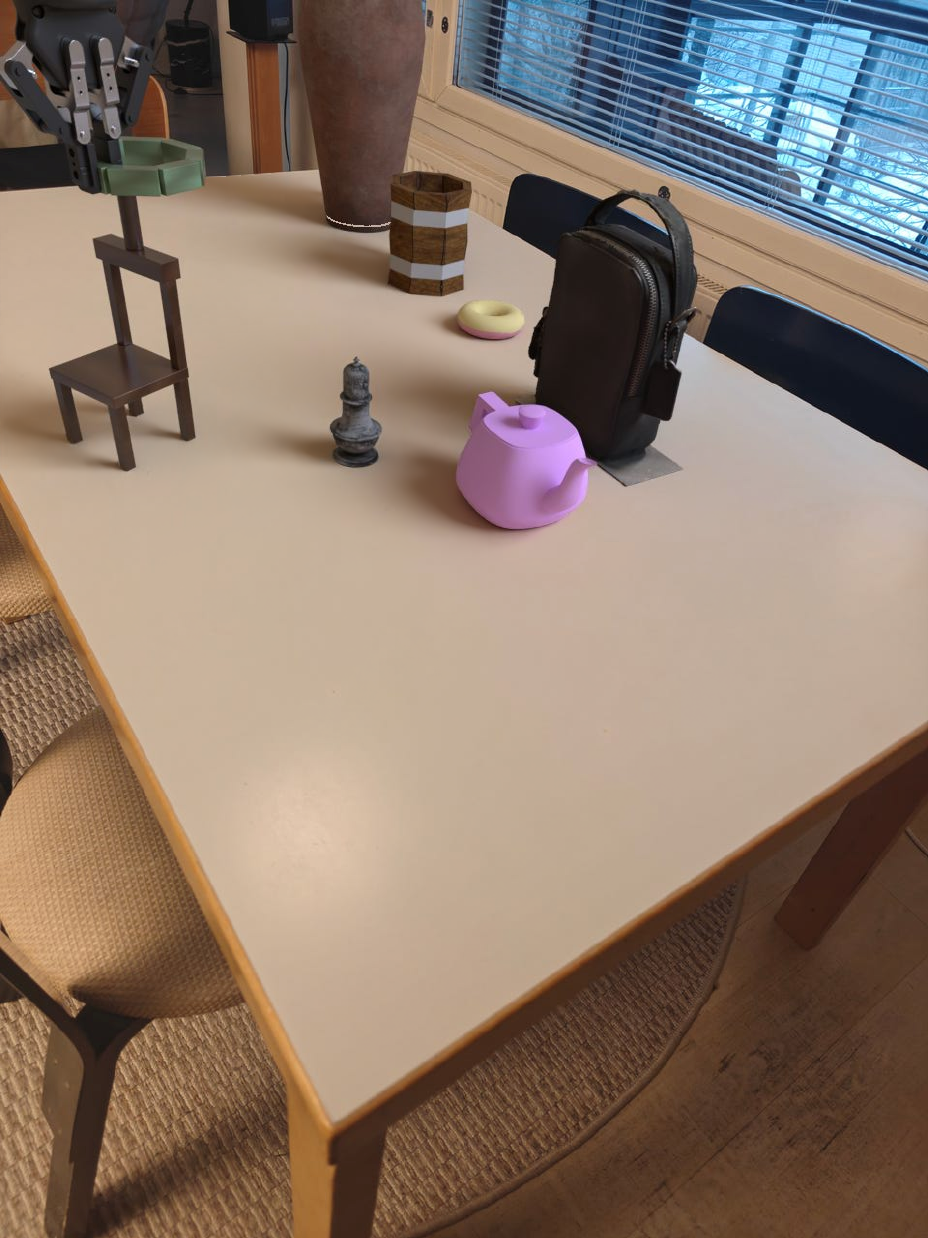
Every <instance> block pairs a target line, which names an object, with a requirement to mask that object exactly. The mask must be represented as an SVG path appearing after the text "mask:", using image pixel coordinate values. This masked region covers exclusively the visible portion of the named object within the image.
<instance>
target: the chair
mask: <svg viewBox="0 0 928 1238" xmlns="http://www.w3.org/2000/svg"><path fill="white" fill-rule="evenodd" d="M116 200H117V207H118V212H119V217H120V224H121V229H122V235H123V236H122V237H121V236H118V235H115V234H114V233H109V234H104V235H101V236H96V237H93V238H92V245H93V249H94V254H95V255H94V256H95V258H96V259H97V260H101V263H102V267H103V273H104V279H105V283H106V289H107V296H108V301H109V306H110V312H111V317H112V322H113V328H114V332H115V339H116V343H113V344H111V345H108V346H105V347H103V348H100V349H97V350H95V351H91V352H89V353H86V354H83V355H82V356H78V357H76V358H73V359H71V360H67V361H65V362H62V363H60V364H57V365H54V366H51V367H49V368H48V372H49V375H50V379H51V380H52V383H53V386H54V390H55V394H56V399H57V403H58V408H59V411H60V415H61V419H62V423H63V428H64V432H65V435H66V436H65V437H66V440H67V441H68V442H70V443H72V444H74V445H75V444H77V443H80V442H81V441H83V440H84V438H83V433H82V429H81V425H80V421H79V417H78V412H77V407H76V402H75V398H74V393H73V391H76V392H78V393H81V394H82V395H85V396H87V397H88V398H91V399H93V400H95V401H97V402H99V403H101V404H104V405H106V406H107V410H108V416H109V420H110V424H111V429H112V430H111V431H112V434H113V439H114V444H115V450H116V455H117V459H118V465H119V468H120V469H122V470H123V471H126V472H129V471H131V470H133V469H135V468H137V464H136V459H135V454H134V449H133V443H132V437H131V432H130V427H129V421H128V416H127V411H126V405H127V408H128V412H129V414H130V415H132V416H135V417H138V416H141V415H143V414H145V411H144V405H143V399H142V398H144V397H147V396H149V395H151V394H153V393H156V392H159V391H160V390H163V389H165V388H168V387H170V386H173V392H174V398H175V405H176V412H177V419H178V426H179V432H180V438H181V439H183V440H185V441H186V442H189V441H192V440H193V439H195V438H196V430H195V429H196V428H195V421H194V414H193V405H192V399H191V390H190V382H189V378H190V373H189V367H188V361H187V353H186V346H185V345H186V344H185V339H184V332H183V331H184V330H183V323H182V315H181V308H180V301H179V293H178V286H177V280H179V279H182V276H181V269H180V268H181V267H180V261H179V258H178V257H175V256H174V255H170V254H167V253H165V252H162V251H159V250H156V249H153V248H151V247H148V246H146V245H144V237H143V232H142V231H143V230H142V224H141V220H140V212H139V205H138V197H137V196H116ZM121 269H124V270H126V271H128V272H131V273H133V274H137V275H139V276H142V277H143V278H147V279H150V280H151V281H154V282H157V283H158V284H159V290H160V297H161V298H160V299H161V303H162V312H163V318H164V324H165V332H166V339H167V340H166V341H167V345H168V353H169V358H167V357H165V356H163V355H160V354H158V353H156V352H154V351H151V350H149V349H146V348H144V347H141V346H139V345H137V344H135V343H133V337H132V332H131V326H130V319H129V315H128V314H129V313H128V308H127V302H126V297H125V292H124V286H123V285H124V284H123V278H122V273H121Z"/></svg>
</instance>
